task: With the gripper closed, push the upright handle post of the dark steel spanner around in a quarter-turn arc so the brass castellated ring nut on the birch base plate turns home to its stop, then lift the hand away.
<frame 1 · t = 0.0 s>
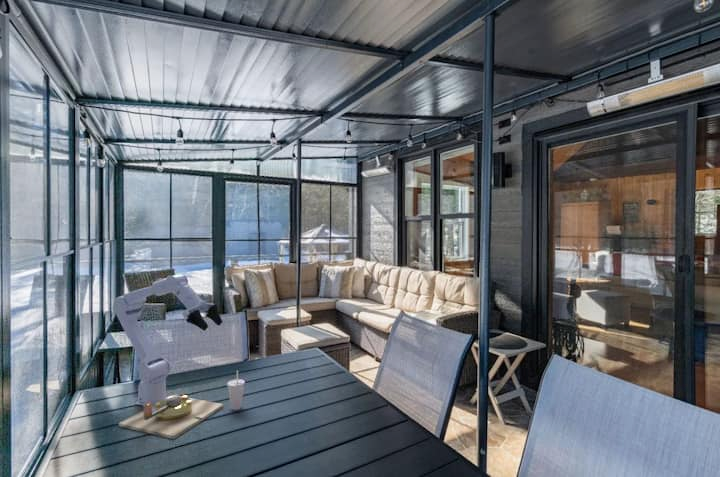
hand: (213, 326, 140), 32 cm above the table, tool tilted 50°, fingers open, 7 cm apart
base plate: (173, 415, 139), on the table
smoothie: (236, 408, 146), on the table
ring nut: (166, 405, 136), point 5 cm above the table, hinge at 0.0°
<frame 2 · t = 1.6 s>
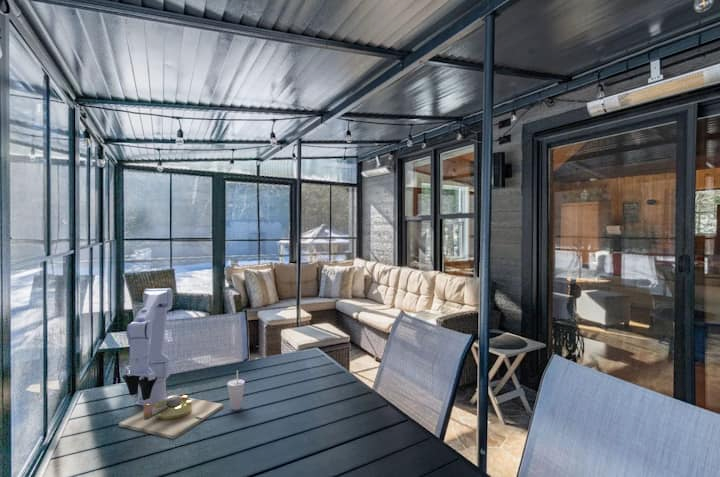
hand: (139, 396, 131), 10 cm above the table, tool pointing down, fingers open, 7 cm apart
nothing on the table moved.
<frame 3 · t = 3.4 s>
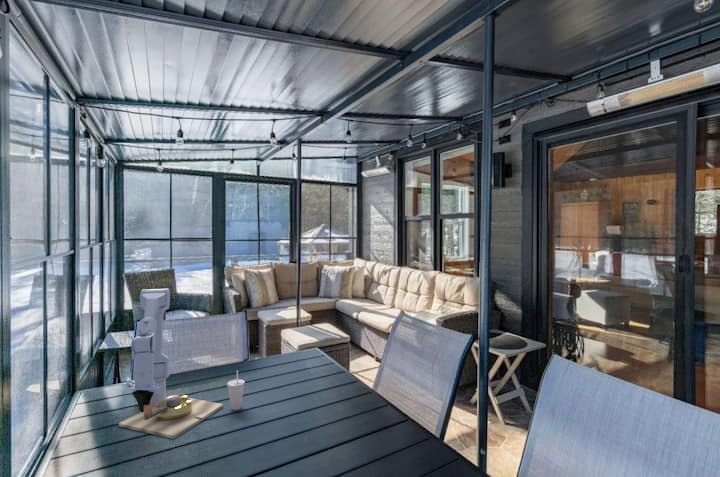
hand: (144, 411, 131), 6 cm above the table, tool pointing down, fingers closed
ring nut: (166, 405, 136), point 5 cm above the table, hinge at 0.0°, touching gripper
everything else where it was.
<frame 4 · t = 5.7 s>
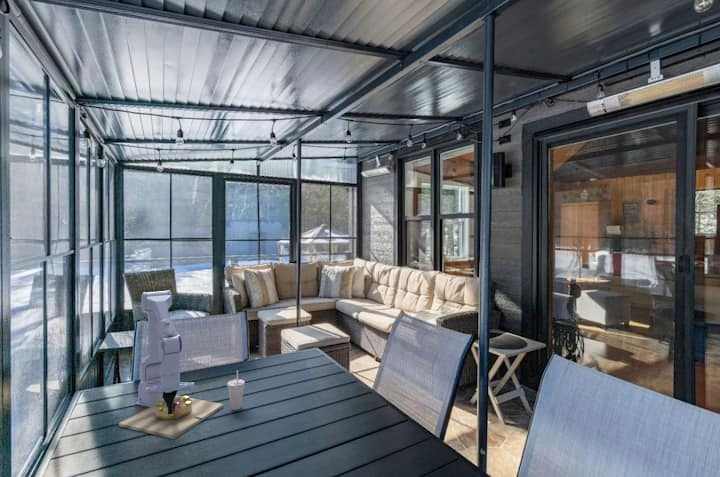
hand: (170, 413, 129), 6 cm above the table, tool pointing down, fingers closed
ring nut: (174, 405, 137), point 5 cm above the table, hinge at 50.8°, touching gripper
everything else where it was.
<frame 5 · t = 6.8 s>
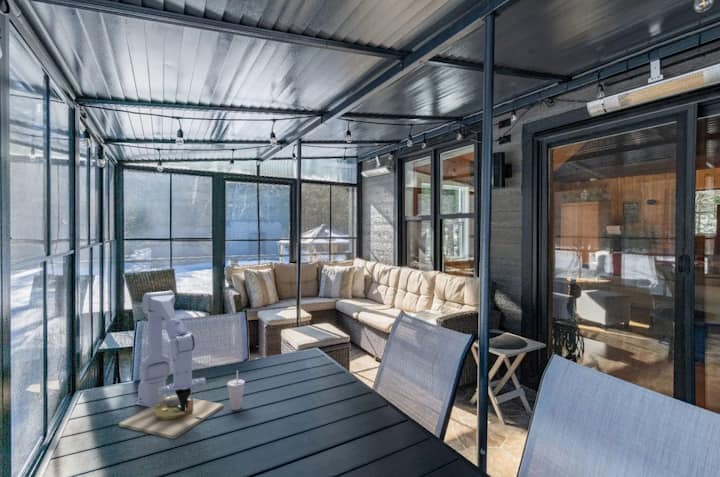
hand: (182, 410, 131), 6 cm above the table, tool pointing down, fingers closed
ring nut: (177, 404, 137), point 5 cm above the table, hinge at 71.1°, touching gripper
everything else where it was.
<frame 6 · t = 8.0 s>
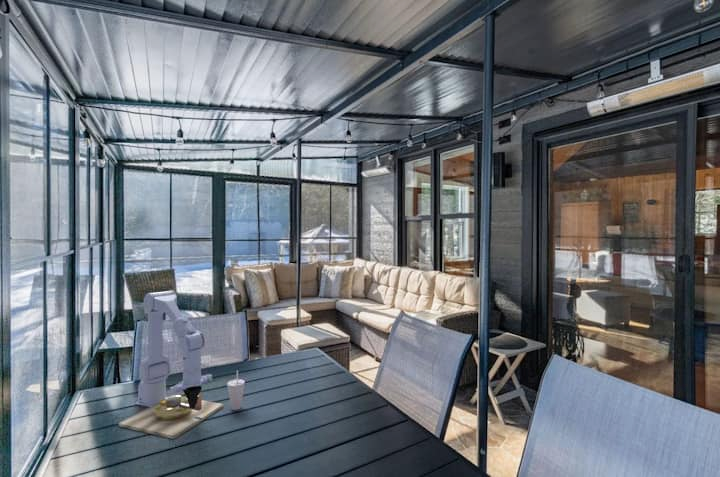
hand: (192, 407, 133), 6 cm above the table, tool pointing down, fingers closed
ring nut: (180, 403, 138), point 5 cm above the table, hinge at 88.9°, touching gripper
everything else where it was.
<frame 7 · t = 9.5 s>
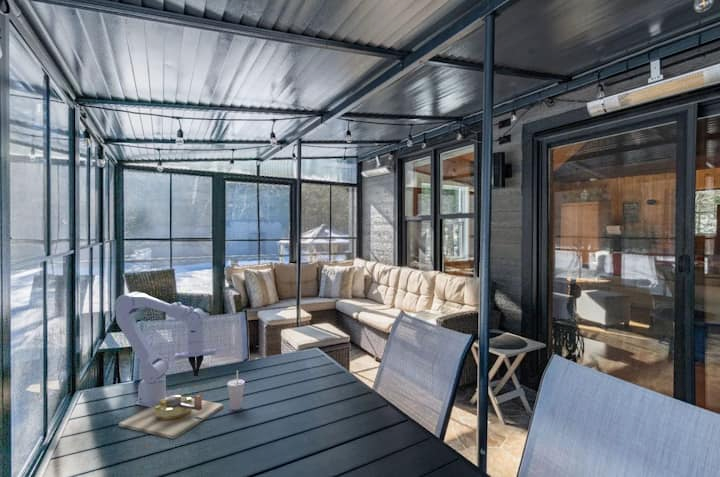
hand: (196, 375, 151), 10 cm above the table, tool pointing down, fingers closed
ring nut: (180, 403, 138), point 5 cm above the table, hinge at 89.5°
everything else where it was.
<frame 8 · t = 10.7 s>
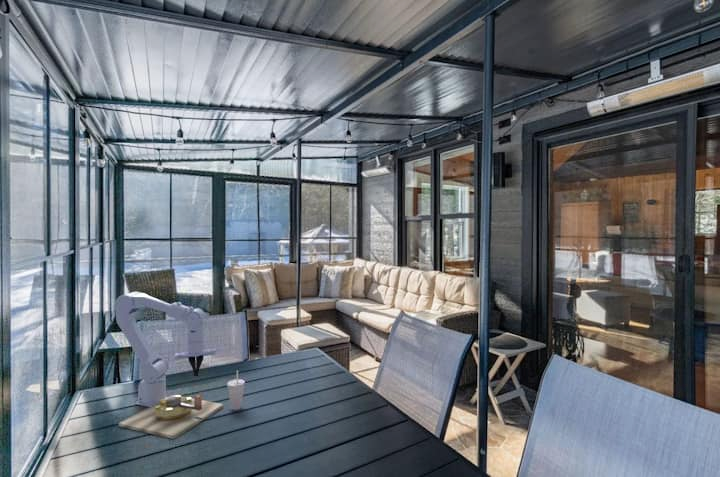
hand: (196, 375, 151), 10 cm above the table, tool pointing down, fingers closed
nothing on the table moved.
at the end: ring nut at +90° (first picture: +0°) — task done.
